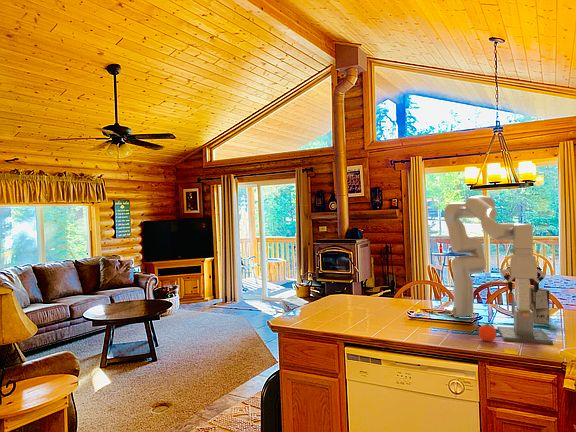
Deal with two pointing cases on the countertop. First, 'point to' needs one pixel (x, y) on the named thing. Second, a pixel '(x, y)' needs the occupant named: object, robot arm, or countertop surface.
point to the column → (523, 295)
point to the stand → (524, 330)
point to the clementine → (487, 332)
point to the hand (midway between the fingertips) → (523, 291)
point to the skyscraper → (515, 295)
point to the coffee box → (539, 305)
